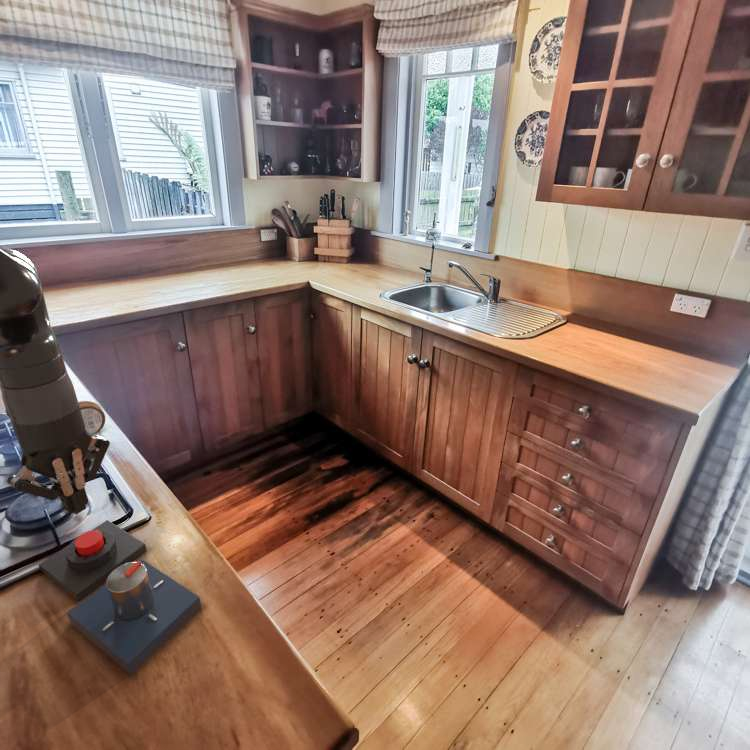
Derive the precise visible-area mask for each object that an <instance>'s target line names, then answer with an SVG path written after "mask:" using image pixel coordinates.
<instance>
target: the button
mask: <svg viewBox="0 0 750 750" xmlns="http://www.w3.org/2000/svg"><path fill="white" fill-rule="evenodd" d="M91 530H92V531H91ZM91 530H88V531H84V532H83V533H81V534H80V535H78V537H76V538H77V539H76V538H75V539H76V541H75V546H76V549H77V552H78V554H79V555H80V556H90V555H93V554H95V553H97V552H98V551H100V550H101V549H102V548H103V546H104V540H103V537H102V534H101V532H99V531H97V530H93V529H91Z"/></svg>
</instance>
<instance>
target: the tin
mask: <svg viewBox="0 0 750 750" xmlns="http://www.w3.org/2000/svg"><path fill="white" fill-rule="evenodd" d="M78 403H79V407H80V410H81V413H82V417H83V420H84V424H85V429H86V431H87V432H88V433H90V434H91V435H93V434H97V433H100V432H101V431H102V429H103V428H104V426H105V424H106V414H105V412H104V411H103V409H102V407H100V405H99V404H98V403H96V402H94V401H90V400H83V401H82V400H81V401H78Z"/></svg>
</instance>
